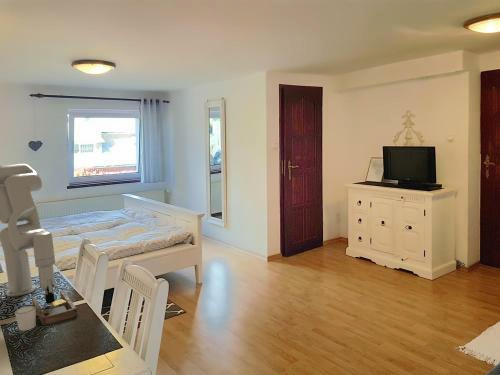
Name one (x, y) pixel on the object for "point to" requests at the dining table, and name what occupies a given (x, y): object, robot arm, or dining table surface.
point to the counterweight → (56, 310)
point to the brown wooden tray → (57, 316)
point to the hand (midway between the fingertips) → (50, 302)
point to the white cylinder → (26, 318)
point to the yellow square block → (58, 304)
